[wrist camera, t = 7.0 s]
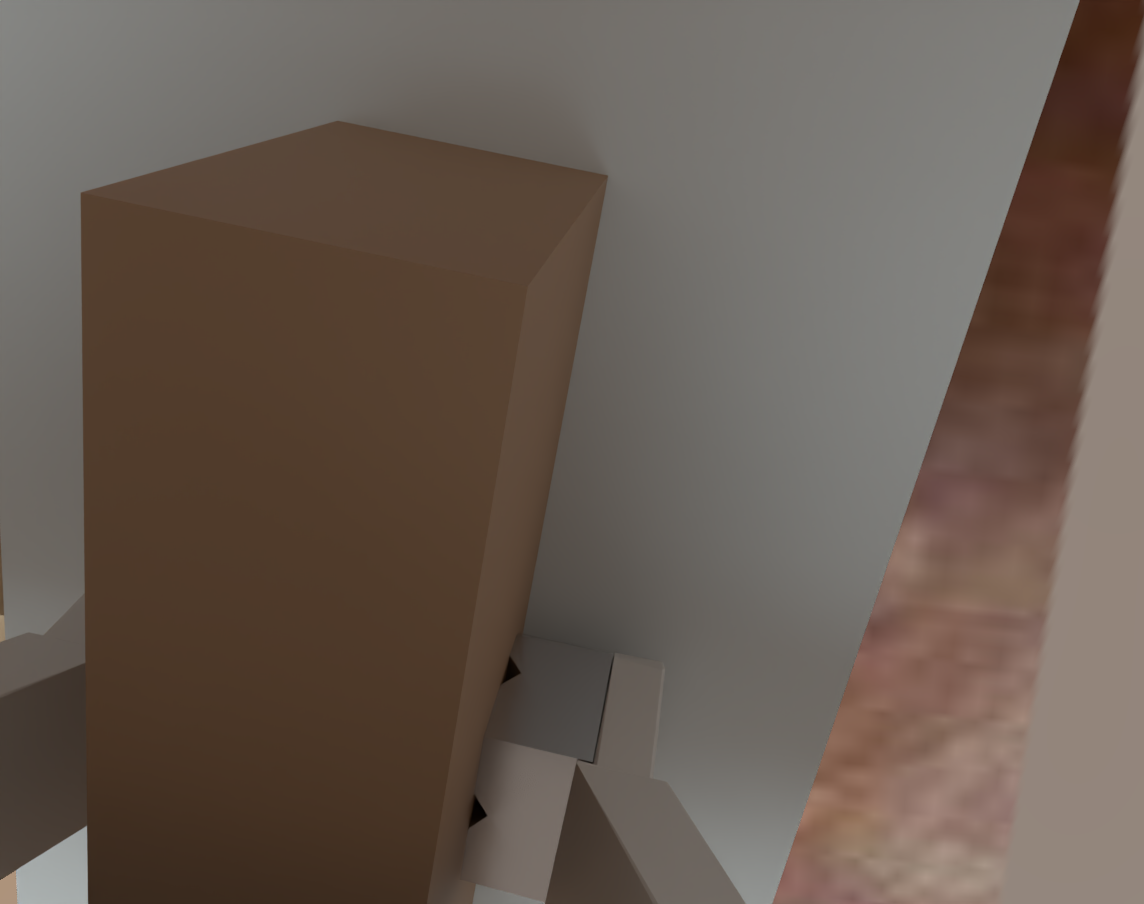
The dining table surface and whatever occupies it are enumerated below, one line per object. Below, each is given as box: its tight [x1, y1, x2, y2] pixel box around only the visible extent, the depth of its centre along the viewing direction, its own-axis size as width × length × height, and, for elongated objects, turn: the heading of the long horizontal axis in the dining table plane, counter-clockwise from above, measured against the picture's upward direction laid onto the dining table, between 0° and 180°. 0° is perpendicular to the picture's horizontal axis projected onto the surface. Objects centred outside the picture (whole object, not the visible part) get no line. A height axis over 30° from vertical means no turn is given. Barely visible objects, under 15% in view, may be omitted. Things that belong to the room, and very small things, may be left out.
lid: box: [0, 0, 1080, 904], centre depth 10 cm, size 19×9×6 cm, turn 171°
